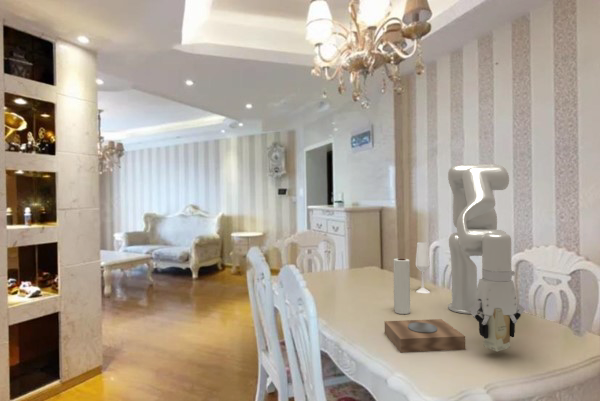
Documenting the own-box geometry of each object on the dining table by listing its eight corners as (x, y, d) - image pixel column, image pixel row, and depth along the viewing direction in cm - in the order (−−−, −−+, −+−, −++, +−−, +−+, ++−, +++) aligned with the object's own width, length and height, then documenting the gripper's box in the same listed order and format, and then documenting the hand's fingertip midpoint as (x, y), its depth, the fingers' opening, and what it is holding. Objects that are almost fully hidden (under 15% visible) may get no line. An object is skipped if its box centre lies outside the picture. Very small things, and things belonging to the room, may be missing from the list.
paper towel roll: (410, 315, 145) (410, 260, 145) (395, 314, 146) (394, 260, 146) (409, 309, 152) (408, 257, 152) (394, 308, 153) (393, 257, 153)
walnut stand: (441, 330, 127) (441, 317, 127) (465, 349, 111) (465, 334, 111) (384, 332, 126) (384, 320, 126) (400, 352, 110) (400, 337, 110)
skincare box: (497, 352, 104) (496, 309, 104) (483, 346, 108) (482, 305, 108) (511, 347, 107) (510, 305, 107) (497, 342, 111) (496, 301, 111)
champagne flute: (428, 294, 176) (427, 243, 176) (414, 292, 179) (413, 243, 179) (431, 291, 181) (431, 242, 181) (417, 289, 185) (417, 241, 185)
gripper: (516, 271, 111) (516, 330, 112) (461, 273, 110) (461, 332, 111) (534, 277, 104) (534, 339, 104) (474, 279, 103) (475, 342, 103)
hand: (496, 335), depth 108 cm, fingers closed on skincare box, 7 cm apart
